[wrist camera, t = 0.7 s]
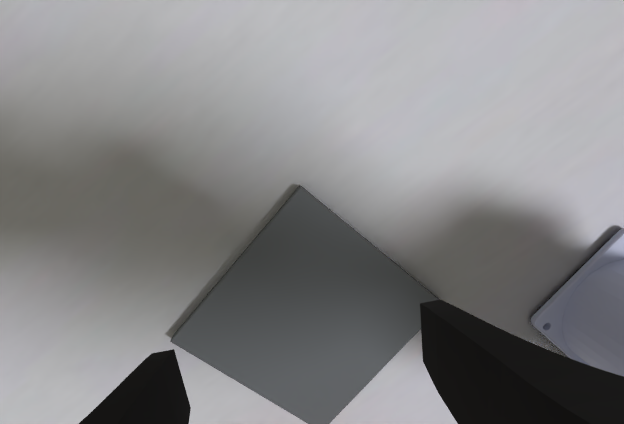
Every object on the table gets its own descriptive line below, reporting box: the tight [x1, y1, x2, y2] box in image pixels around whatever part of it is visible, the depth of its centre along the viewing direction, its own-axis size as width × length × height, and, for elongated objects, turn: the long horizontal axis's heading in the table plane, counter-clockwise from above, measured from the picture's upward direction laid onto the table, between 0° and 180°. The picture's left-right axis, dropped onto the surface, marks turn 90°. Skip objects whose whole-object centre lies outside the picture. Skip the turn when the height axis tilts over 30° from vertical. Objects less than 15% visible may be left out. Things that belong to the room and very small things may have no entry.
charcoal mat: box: [170, 186, 439, 424], centre depth 20 cm, size 11×11×1 cm
